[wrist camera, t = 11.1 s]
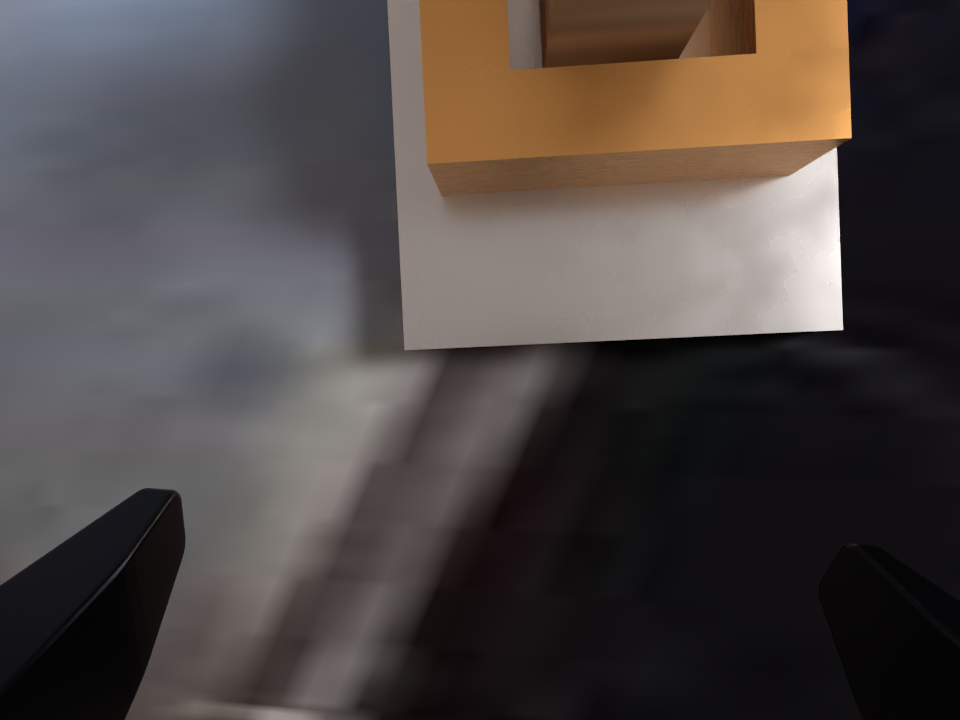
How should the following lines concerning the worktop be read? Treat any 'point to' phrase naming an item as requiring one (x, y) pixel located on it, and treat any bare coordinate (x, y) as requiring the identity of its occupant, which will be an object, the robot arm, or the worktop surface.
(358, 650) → the worktop surface
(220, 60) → the worktop surface
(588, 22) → the tan block
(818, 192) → the bracket plate
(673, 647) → the worktop surface
